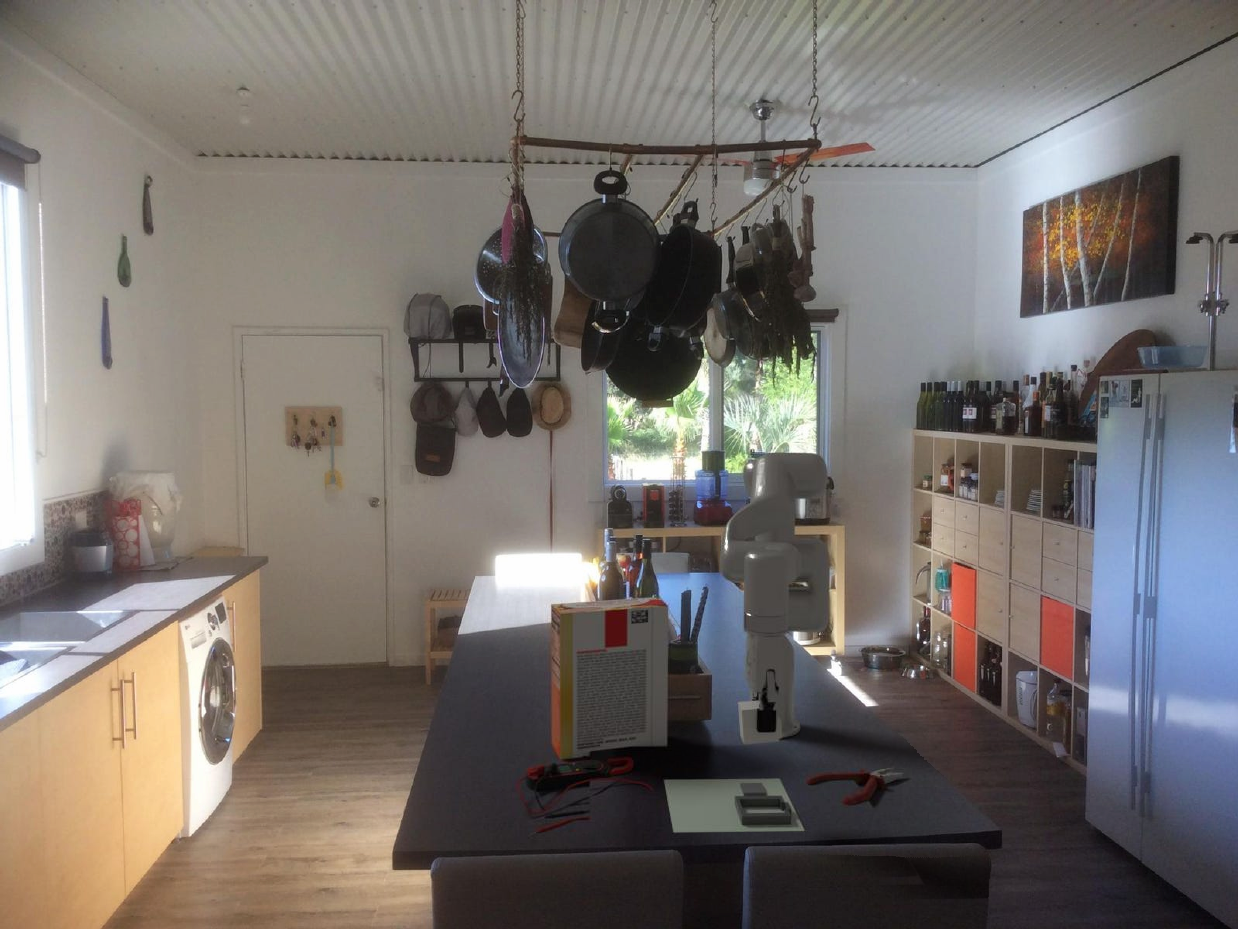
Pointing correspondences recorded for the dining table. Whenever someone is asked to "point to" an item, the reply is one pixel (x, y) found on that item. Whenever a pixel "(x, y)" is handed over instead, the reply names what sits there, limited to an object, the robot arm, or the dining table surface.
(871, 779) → the pliers
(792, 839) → the dining table surface
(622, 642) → the cereal box
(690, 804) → the board
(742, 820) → the frame
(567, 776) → the digital clamp meter
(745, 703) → the plug
